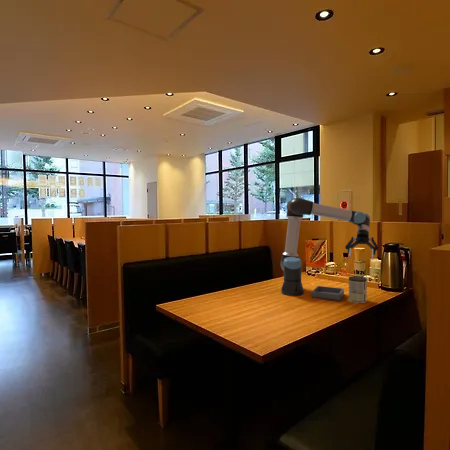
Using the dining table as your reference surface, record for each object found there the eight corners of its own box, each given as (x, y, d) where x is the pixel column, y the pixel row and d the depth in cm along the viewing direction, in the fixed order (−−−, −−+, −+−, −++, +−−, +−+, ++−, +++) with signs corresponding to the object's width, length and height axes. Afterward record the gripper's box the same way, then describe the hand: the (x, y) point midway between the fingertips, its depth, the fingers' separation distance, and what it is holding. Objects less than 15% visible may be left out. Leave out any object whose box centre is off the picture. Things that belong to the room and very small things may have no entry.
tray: (311, 297, 202) (311, 291, 202) (317, 291, 217) (317, 285, 217) (339, 301, 194) (339, 294, 194) (343, 294, 209) (343, 288, 209)
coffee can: (346, 298, 201) (346, 276, 200) (363, 298, 200) (363, 276, 199) (351, 303, 191) (351, 279, 190) (369, 303, 190) (369, 280, 189)
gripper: (383, 236, 214) (382, 262, 202) (344, 235, 226) (341, 260, 214) (383, 229, 209) (382, 255, 197) (343, 229, 221) (339, 253, 209)
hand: (360, 257), depth 206 cm, fingers open, 13 cm apart
